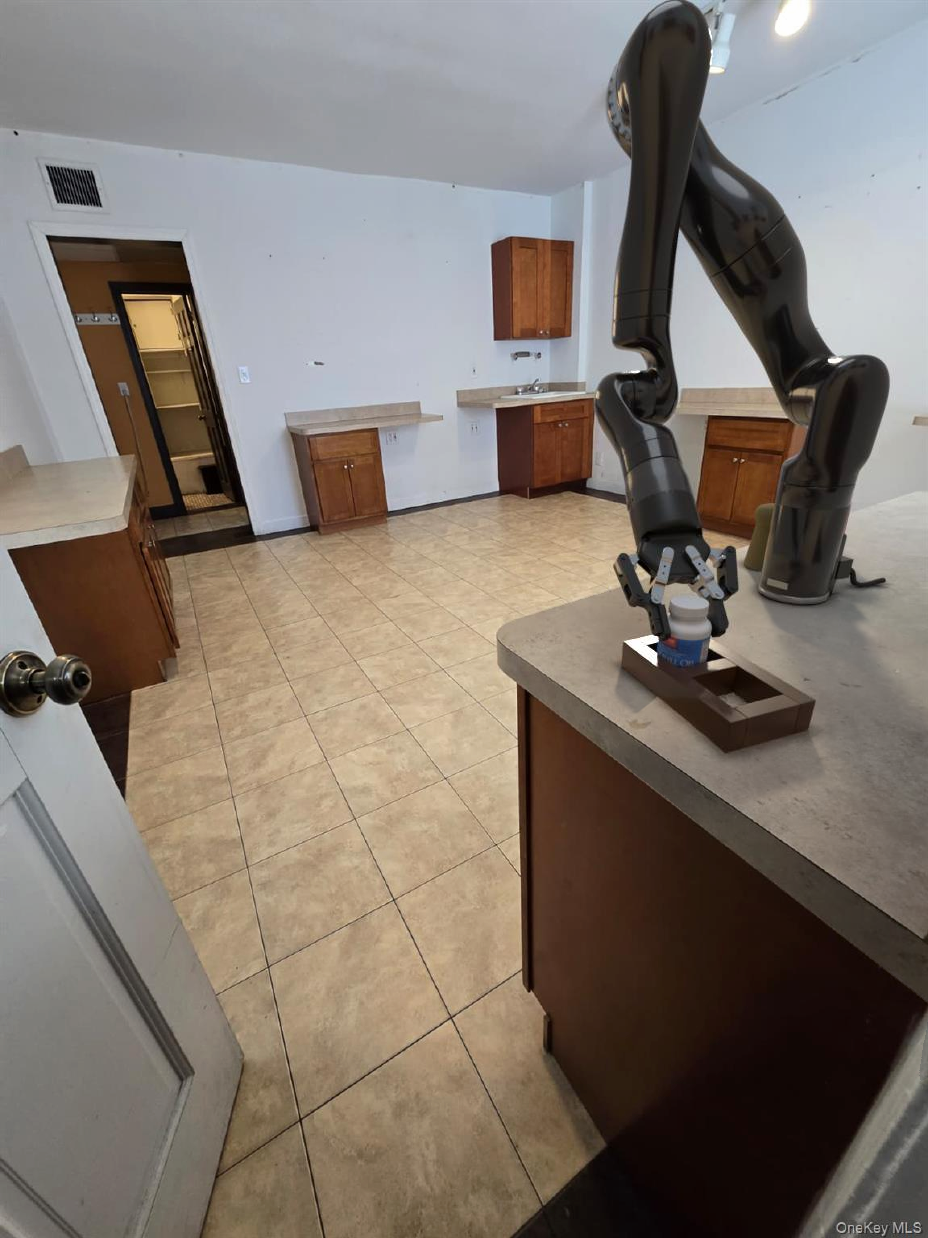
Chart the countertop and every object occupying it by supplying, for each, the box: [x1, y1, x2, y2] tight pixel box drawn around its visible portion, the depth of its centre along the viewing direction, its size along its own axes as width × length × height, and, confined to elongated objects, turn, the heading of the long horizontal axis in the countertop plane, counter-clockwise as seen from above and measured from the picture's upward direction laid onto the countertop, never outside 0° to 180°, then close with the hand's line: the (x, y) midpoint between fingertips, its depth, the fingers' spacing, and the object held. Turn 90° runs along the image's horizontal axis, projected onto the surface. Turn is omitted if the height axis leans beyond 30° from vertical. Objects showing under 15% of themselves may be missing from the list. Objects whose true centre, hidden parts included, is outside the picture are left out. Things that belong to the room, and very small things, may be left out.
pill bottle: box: [657, 594, 712, 669], centre depth 59 cm, size 6×5×10 cm
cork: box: [742, 502, 775, 572], centre depth 90 cm, size 6×6×11 cm
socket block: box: [621, 634, 817, 754], centre depth 56 cm, size 10×18×4 cm, turn 17°
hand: (692, 636), depth 56 cm, fingers closed on pill bottle, 5 cm apart
